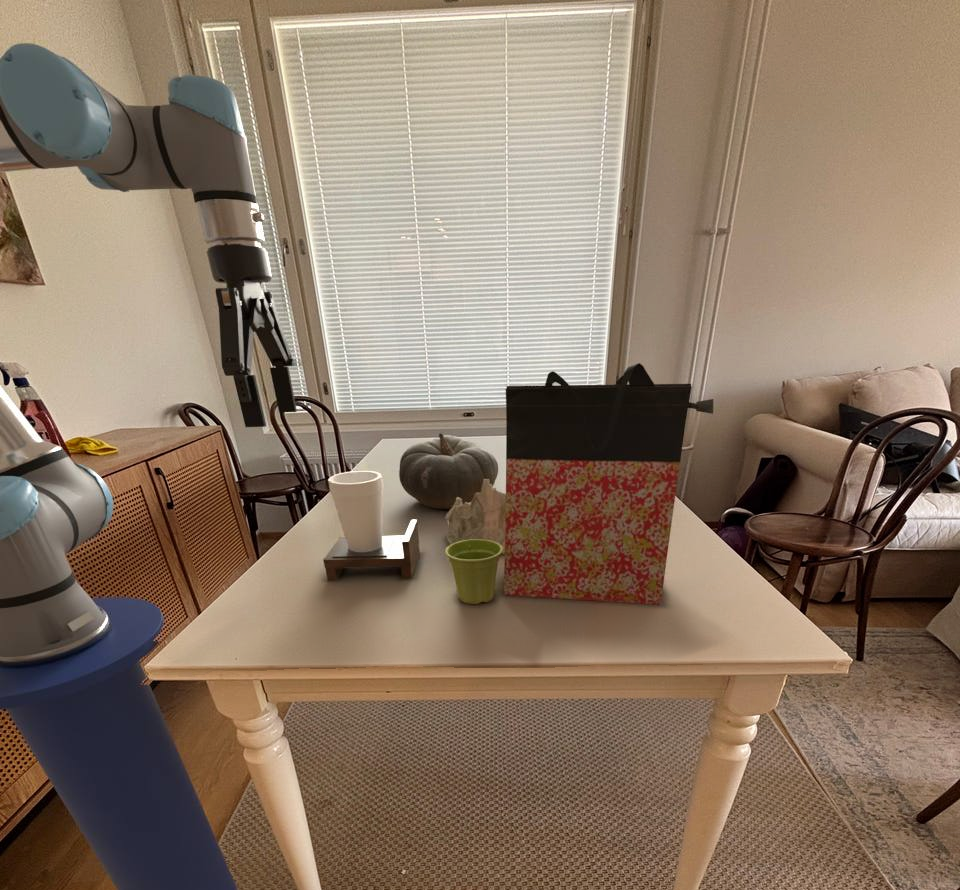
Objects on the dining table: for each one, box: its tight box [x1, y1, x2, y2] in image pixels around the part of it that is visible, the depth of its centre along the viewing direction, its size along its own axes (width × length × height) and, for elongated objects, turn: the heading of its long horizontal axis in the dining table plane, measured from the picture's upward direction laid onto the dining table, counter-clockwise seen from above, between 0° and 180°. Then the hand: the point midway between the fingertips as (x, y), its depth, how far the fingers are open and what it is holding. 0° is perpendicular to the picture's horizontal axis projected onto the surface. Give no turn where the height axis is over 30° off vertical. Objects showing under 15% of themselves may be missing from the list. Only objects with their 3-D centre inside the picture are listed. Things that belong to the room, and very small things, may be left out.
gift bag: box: [503, 362, 714, 606], centre depth 84 cm, size 29×14×35 cm, turn 78°
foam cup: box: [327, 470, 384, 552], centre depth 99 cm, size 10×9×13 cm
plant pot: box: [444, 539, 503, 605], centre depth 89 cm, size 9×9×9 cm
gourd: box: [398, 432, 499, 510], centre depth 136 cm, size 25×25×17 cm
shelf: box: [322, 519, 421, 581], centre depth 103 cm, size 16×12×7 cm
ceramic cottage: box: [445, 479, 506, 555], centre depth 110 cm, size 16×16×15 cm
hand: (273, 419), depth 81 cm, fingers open, 13 cm apart
